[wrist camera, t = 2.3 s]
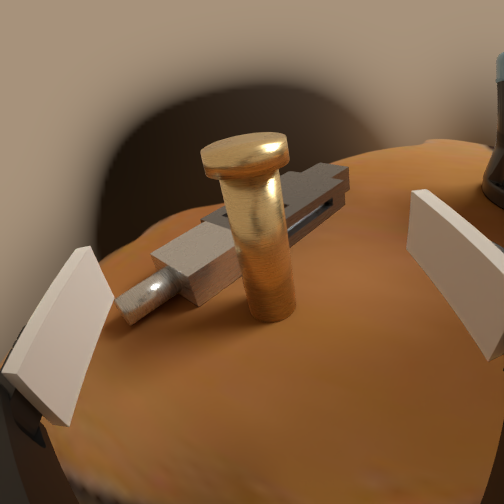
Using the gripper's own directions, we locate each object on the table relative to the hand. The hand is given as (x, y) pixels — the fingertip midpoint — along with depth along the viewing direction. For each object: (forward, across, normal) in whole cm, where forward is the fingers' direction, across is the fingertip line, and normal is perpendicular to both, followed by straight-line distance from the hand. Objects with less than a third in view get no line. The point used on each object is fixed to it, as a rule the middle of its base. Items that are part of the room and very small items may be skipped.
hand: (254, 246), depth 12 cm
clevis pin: (+10, 0, -12) cm, 16 cm away
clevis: (+22, 0, -12) cm, 25 cm away
